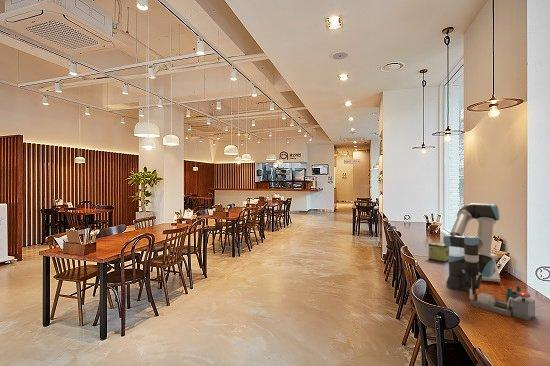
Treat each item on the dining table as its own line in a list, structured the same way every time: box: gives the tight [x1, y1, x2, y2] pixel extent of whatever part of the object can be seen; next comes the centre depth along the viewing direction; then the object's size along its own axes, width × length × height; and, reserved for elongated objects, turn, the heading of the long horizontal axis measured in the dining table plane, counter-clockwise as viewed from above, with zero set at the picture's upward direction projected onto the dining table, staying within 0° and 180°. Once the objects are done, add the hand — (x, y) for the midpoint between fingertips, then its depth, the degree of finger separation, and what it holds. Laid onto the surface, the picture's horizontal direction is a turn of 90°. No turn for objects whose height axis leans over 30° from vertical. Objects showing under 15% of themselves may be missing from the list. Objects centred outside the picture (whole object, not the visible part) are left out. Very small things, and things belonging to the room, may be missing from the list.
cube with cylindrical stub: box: [476, 292, 497, 307], centre depth 184 cm, size 6×8×6 cm
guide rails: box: [470, 299, 513, 317], centre depth 181 cm, size 14×20×2 cm
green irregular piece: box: [505, 285, 522, 302], centre depth 190 cm, size 9×9×9 cm
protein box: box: [428, 242, 450, 263], centre depth 294 cm, size 10×16×16 cm
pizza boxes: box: [476, 252, 501, 283], centre depth 238 cm, size 19×30×18 cm, turn 157°
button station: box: [506, 291, 536, 322], centre depth 170 cm, size 10×10×12 cm
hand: (471, 298), depth 191 cm, fingers closed
